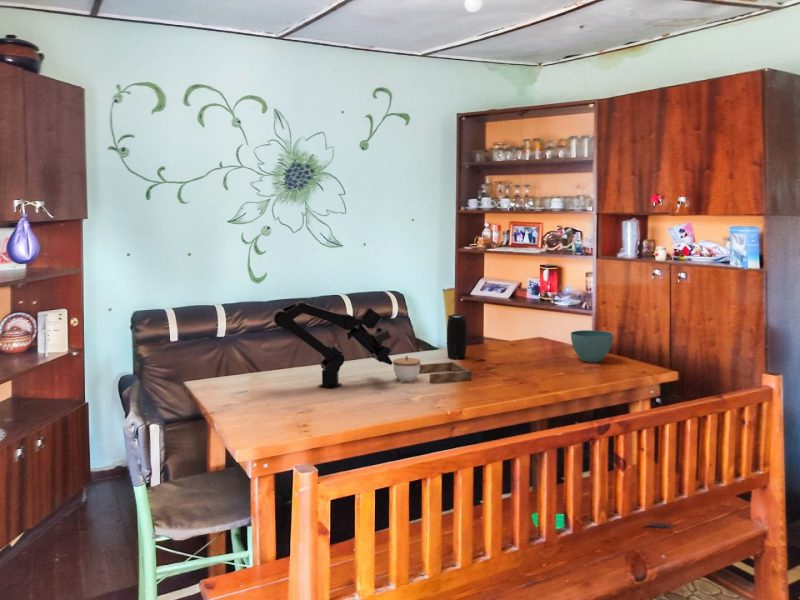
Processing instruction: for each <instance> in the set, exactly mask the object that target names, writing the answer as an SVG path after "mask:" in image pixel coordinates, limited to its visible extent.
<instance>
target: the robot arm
mask: <svg viewBox="0 0 800 600" xmlns="http://www.w3.org/2000/svg"><path fill="white" fill-rule="evenodd" d="M302 314H304V315H305V314H306V315H308V316H311V317H314V318H318V319H320V320H324V321H328V322H330V323H332V324H335V325H336V326H338V327H339V328H342V329H344V330H345V333H344V334H345V339H347V340H350V339H351V338H352V339H354V340H355V341H356V343H358V344H359V345H360V346H361V347H362V348H363V351H364V352H365V354H367V355H371V357H372V358H373V359H375V360H376V361H377V362H379V363H384V364H387V365H390V366H392V365H394V364H393V360H391V358H390V356H389V354H390V353H391V352H392V349H391V348H390V347H389V346H387V345H383V342H385V341H387V340H389V339H391V338H392V336H391V333H390V331H389V329H387V328H384V327H383V328H381V327H377V328H375V327H376V326H377V325H378V324H379V322H380V321H381V320H382V319H383V317H382V315H380V314H379V313H378V312H376V311H375V310H373V309H372V308H371V307H369V306H368V307H367V308H366V309H365V311H364V312H363V313H362V314H361V316H360V317H359V316H357V315H356V316H353V315H351V314H349V313H347V312H338V311H331V310H328V309H324V308H322V307H318V306H316V305H312V304H309V303H306V302H303V301H301V300H300V301H297V302H295V303H292V304H290V305H289V306H286V307H284V308H278V309H275V310H274V311H273V312H272V313H271V321H272V322H273V323H274V324H275V325H276V326H278V327H280V328H281V329H284V330H286V331H288V332H290V333H293V334H294V335H295V336H296V337H298V338H299V339H300V340H302V342H305V343H306V344H307V345H308V346H310V347H311V348H313V349H314V350H315V351H316V352H317V353H319V355H321V357H322V358H323V359H322V360H321V362H319V365H320V367H321V369H322V371H321V380H322V381H321V384H319V385H318V387H319V386H324V387H323V388H326V387H330V388H329V389H334V387H335V388H337V387H336V386H338V387H340V386H342V385H341V384H342V383H339V381H340V380H339V372H340V369H341V367H342V366H343V365H344V363H345V356H344V355H343V354H342V353H343V351H342V350H341V349H339V348H336V346H334V345H333V344H332V343H329V344H328V345H327V344H324V343H323V342H321V341H320V340H319V339H318V338H316V337H315V336H313V334H311V333H309V332H308V331H307V330H306V329H304V328H303V327H301V326H300V325H299V324H298V323H297V322H296V321H295V320H294V319H295V318H297V317H299V316H300V315H302ZM374 328H375V332H374V334H372V333H371V332H369V331H368V330H373V329H374ZM339 385H340V386H339Z"/></svg>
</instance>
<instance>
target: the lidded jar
mask: <svg viewBox="0 0 800 600" xmlns="http://www.w3.org/2000/svg"><path fill="white" fill-rule="evenodd" d="M392 363H393V364H392V365H393V372H394V376H396V378H397V379H398V380H399V381H400V380H402V381H401V382H405V381H408V382H414V381H415V380H416V379H417V377H418V376H419V371H420V365H421V360H420V359H419V358H414V357H409V356H408V355H407V356H406V355H405V357H399V358H398V357H397V358H395V359H393V360H392ZM413 380H414V381H413Z"/></svg>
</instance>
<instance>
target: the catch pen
mask: <svg viewBox="0 0 800 600" xmlns="http://www.w3.org/2000/svg"><path fill="white" fill-rule="evenodd" d="M444 371H446V372H444ZM452 371H453V372H452ZM431 372H434V373H431ZM419 373H421V374H429V384H430V383H433V384H442V383H441V382H444V383H452V382H451V381H456V382H463V381H462V380H468V381H472V370H469V369H467V368H465V367H463V366H462V365H459V364H458V363H456V362H454V361H449V362H436V363H434V362H433V363H424V364H421V363H420V371H419Z"/></svg>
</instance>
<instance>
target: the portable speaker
mask: <svg viewBox="0 0 800 600" xmlns="http://www.w3.org/2000/svg"><path fill="white" fill-rule="evenodd" d="M467 330H468V326H467V316H466V315H464V314H460V313H454V314H451V315H450V314H448V318H447V326H446V353H447V356H448V358H450V359H451V360H455V361H456V359H459V360H460V358H463V359H466V353H467V343H468V341H467V340H468V339H467V336H468V334H467V333H468V331H467Z"/></svg>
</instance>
